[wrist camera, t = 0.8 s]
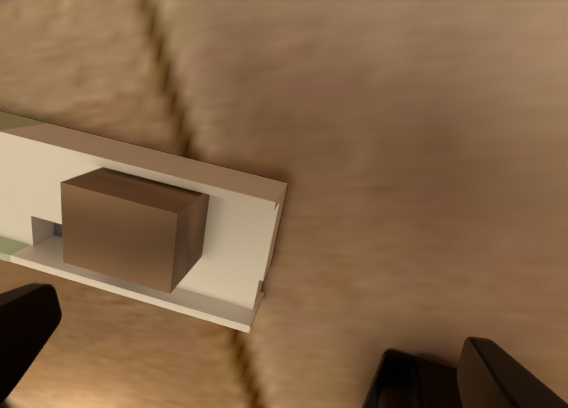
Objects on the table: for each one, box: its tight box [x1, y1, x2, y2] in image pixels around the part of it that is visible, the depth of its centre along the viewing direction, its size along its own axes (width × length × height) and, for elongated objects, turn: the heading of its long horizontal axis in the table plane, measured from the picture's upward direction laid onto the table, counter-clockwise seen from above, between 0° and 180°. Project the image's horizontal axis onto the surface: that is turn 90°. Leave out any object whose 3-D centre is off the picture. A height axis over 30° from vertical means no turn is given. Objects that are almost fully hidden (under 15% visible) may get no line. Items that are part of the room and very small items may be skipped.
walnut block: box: [60, 167, 210, 294], centre depth 19 cm, size 4×6×4 cm
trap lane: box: [0, 111, 288, 333], centre depth 22 cm, size 8×22×4 cm, turn 79°
